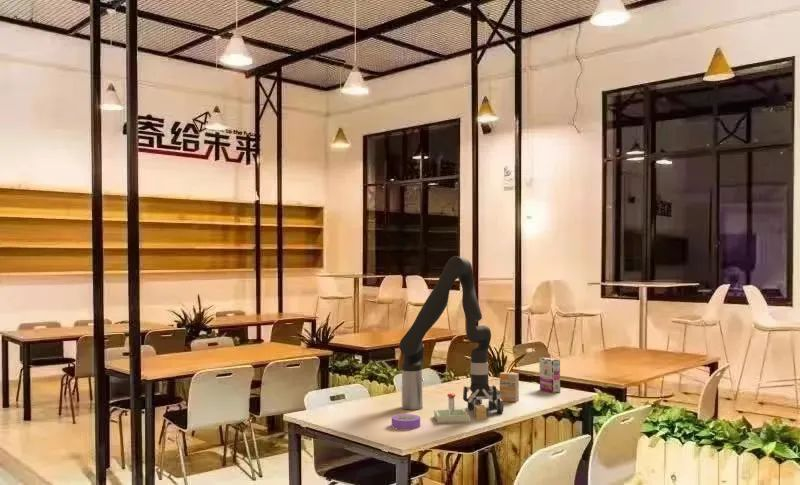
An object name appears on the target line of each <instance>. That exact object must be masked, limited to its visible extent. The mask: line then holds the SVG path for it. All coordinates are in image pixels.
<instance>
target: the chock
mask: <svg viewBox="0 0 800 485" xmlns="http://www.w3.org/2000/svg"><path fill="white" fill-rule="evenodd" d="M473 412H474V413H473V415H474V417H475V418H476V419H478V420H479V419H487V406H485V405H484V404H481V405H474V408H473Z"/></svg>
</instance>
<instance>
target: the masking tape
mask: <svg viewBox="0 0 800 485" xmlns="http://www.w3.org/2000/svg"><path fill="white" fill-rule="evenodd" d="M391 427H394V428H393V429H395V428H397V429H396V430H400V429H411V430H415V429H419V428H420V427H421V416H420V415H417V414H412V413H411V414H410V413H400V414H396V415H393V416H391Z"/></svg>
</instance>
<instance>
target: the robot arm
mask: <svg viewBox="0 0 800 485" xmlns="http://www.w3.org/2000/svg"><path fill="white" fill-rule="evenodd" d="M457 279H458V281H459V283H460V286H461V289H462V291H461V292H462V295H461V296H462V298H461V304H462V309H463V313H464V316H465V324H466V325H465V326H466V328H465V330H466V331H465V335H466V338H467V340H468V341H469V342H470V343H473V344H475V343H476V344H477V343H478V345H477V347H474V348H472V349H471V351H470V361H471V362H470V386H464V385H463V391H462V392H463V394H462V396H463V397H462V400H463V401H464V402H466V403H467V410H468V411H469V412H472V411H473V410H472V409H473V408H472V403H471V401H472V400H473V399H474V397H475V396H476V397H480V396H481V397H484V396H486V397H487V398H488V399H487V400H488V411H492V410H493V401H494V400H497V393H496V389H497V387H496V385H494V384H492V385H491V386H490V385H489V383H490V382H489V365H488V364H489V362H488V360H489V359H488V351H489V348H490V343H491V339H492V332H491V328H489V326H487V325H476V324H477V322H480V321H481V320H482V318H483V315H482V311H481V308H480V305H479V301H478V297H477V292H476V287H475V280H474V279H475V278H474V272H473V266H472V263H471V261H470V260H469V259H466V258H465V257H461V256H459V255H458V256H457V255H454V256H452V257H450V258H449V259H448V261H447V262H446V264H445V265H444V268H443V269H442V272H441V274H440V276H439V279H438V280H437V282H436V283H435V285H434V287H433V289H432V291H431V292H430V294H429V295H428V297H427V299H426V300H425V302H424V303H423V304H422V306H421V309H420V310H419V312H418V314H417V315H416V318H415V320H414V321H413V323H412V325H411V326H410V328H408V330H407V332H406V333H405V335H404V336H403V337H402V338H401V340H400V342H399V351H400V352H401V354H402V355H403V360H402V362H401V363H402V364H401V408H402V410H409V411H410V410H411V411H413V410H415V411H416V410H421V409H423V406H424V405H423V364H424V342H423V339H424V337H425V335H427V333H428V331H430V329H431V328H432V327H433V326H434V325H435V324H436V322H437V321H438V320H439V319H440V318H441V316H442V314H443V313H444V311H445V309H446V308H447V305H448V302H449V297H450V291H451V288H452V286H453V285H454V283H455V281H456V280H457ZM489 389H491V391H492V392H493V397H492V398H491V397H490V396H489V394H488V393H487V392H488V391H489ZM469 391H470V392H471V393H470V394H469V396H468V393H469Z"/></svg>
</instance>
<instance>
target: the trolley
mask: <svg viewBox="0 0 800 485" xmlns="http://www.w3.org/2000/svg"><path fill="white" fill-rule="evenodd" d="M487 393H488V394H489V396H490V397H491V398H492V397H493V392H492V391H491V389H489V391H488V392H487ZM496 393H497V400H494V401H493V408H495V409H496V413H500V414H501V413H504V401H503V400H502V399H501V395H500V389H498V388H496ZM483 400H489V399H488V398H487V397H486V396H484V397H481V396H480V397H476V396H475V397H474V399H473V400H472V401H471V403H472V409H474V405H483Z"/></svg>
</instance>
